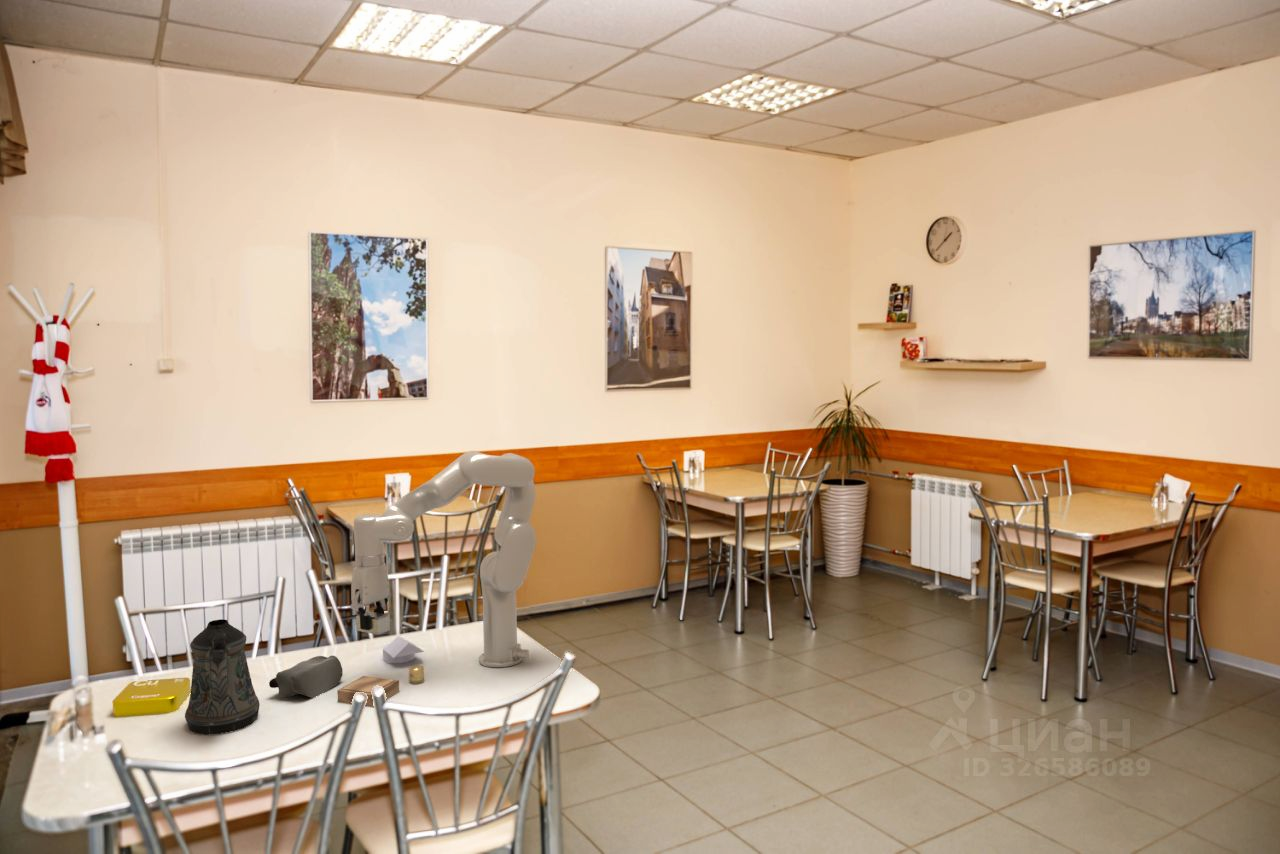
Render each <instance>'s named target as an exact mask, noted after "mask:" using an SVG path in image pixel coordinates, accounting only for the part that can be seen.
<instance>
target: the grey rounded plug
mask: <svg viewBox="0 0 1280 854" xmlns="http://www.w3.org/2000/svg"><path fill="white" fill-rule="evenodd" d="M342 666H343V665H342V663H341V661H340V659H339V658H338V657H337V656H336V655H329V656H328V657H327V656H324V655H317V656H313V657H311V658H309V659H306V660H303V661H299V662H298V663H296V664H295V665H294V666H292V667H290V668H287V669H284V670H282V671H279V672H277V674H275V677H274V678H272V679H270V680H269V682H268V685H269V688H272V689H277V688H278V696H280V697H282V698H288V697H292V696H297V695H303V696H306V697H309V698H312V699H313V697H314V698H317V697H319V696H321V695H323V694H324V693H326V692H327V691H329V690H331V689H332V688H334V687H337V685H339V684H340V682H341V680H342V677H343V667H342ZM322 693H323V694H322ZM320 694H321V695H320ZM316 696H317V697H316Z"/></svg>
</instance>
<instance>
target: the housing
mask: <svg viewBox="0 0 1280 854" xmlns="http://www.w3.org/2000/svg"><path fill="white" fill-rule="evenodd" d="M368 615H370V622H371V629H370V630H363V629H361V628H360V615H358V614H357V615H356V616H355V621H356V622H355V624H356V626H355V627H356V631H358V632H362V633H368V634H373V635H377V636H378V635H381V634H384V633H387V632H388V631H391V621H390V615H388V614H387V613H384V614H382V613H377V612H374V611H370V610H369V614H368Z"/></svg>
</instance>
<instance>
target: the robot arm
mask: <svg viewBox="0 0 1280 854" xmlns="http://www.w3.org/2000/svg"><path fill="white" fill-rule="evenodd" d="M535 473H536V470H535V466H534V464H533V462H531V461H530V459H528V458H526V457H525V456H522V455H519V454H515V453H511V452H508V453H503V454H502V455H492V454H487V453H482V452H479V451H475V450H469V451H466V452H465V453H463V454H461V455H460V456H459V457H457V458H456V459H455V460H454V461H452V462H451V463H450V464H448V465H447V466H446V467H445V468H443V469H442V470H441V471H439V473H437V474H436V475H434V476H432V478H431V479H429V480H428V481H426V482H424V483H422V484H421V485H419V486H418V487H416V488H414V489H412V490H411V491H409V492H407V493H406V494H405V495H403V496H402V497H400V498H399V499H398V500H397V501H395V502H394V503H393V504H392V505H390V506H389V507H388V508H387V509H385V511H384V512H383V513H382V515H379V514H376V513H371V514H370V513H365V514H360V515H357V516H356V517H355V518H354V520H353V535H354V558H355V559H354V560H355V563H354V564H355V567H353V569H352V575H351V585H350V586H351V588H350V590H351V593H350V594H351V596H350V598H351V604H350V609H351V610H353V611H355V613H357V616H358V615H360V628H361V629H363V630H370V629H371V622H370V615H368V614H369V611H370V605H372V604H373V605H374V607H375V608H374V609H373V612H377V613H382V614H385V610H386V608H387V606H386V605H387V603H388V602H389V600H390V598H391V596H392V592H391V590H390V585H389V576H388V575H389V574H388V569H387V564H386V563H385V557H386V553H385V546H384V542H402V541H406V540H408V539H409V538H410V537H411V536H413V533H414V530H415V523H414V521H415V520H417V519H418V518H419V517H421V516H423V515H424V514H425V513H427V512H430V511H432V510H435V509H441V508H443V507H446V506H448V505H450V504H451V503H453V502H454V501H455V500H456V499H457V498H459V497H460V496H461V495H463V493H465V492H466V491H467V490H468V489H470V488H471V487H472V486H474V485H478V486H479V485H480V486H488V487H502V488H504V489H505V495H504V500H503V503H502V504H503V505H502V508H501V510H500V513H499V517H498V519H497V524H496V526H495V530H494V536H493V537H494V539H495V542H496V543H497V544H498V545H499V546H500V548H499V551H498V550H497V551H495V550H494V551H492V552H490V553H488V554H487V555H485V557H484V558H483V559H482V561H481V563H480V567H479V577H480V583H481V591H482V592H481V593H482V594H481V595H482V620H483V621H482V623H483V626H482V627H483V631H482V632H483V653H481V654H480V655H479V657H478V663H479V664H480V665H482V666H484V667H489V668H505V667H512V666H515V665H518V664H519V663H521V662H522V661H523V660H524V659H526V660H527V659H529V657H530V651H529V649H525V648H524V649H523V648H521V645H522V644H521V643H518V623H517V621H518V618H517V615H518V614H517V593H516V591H517V590H519V589H520V588H521V586H522V585H523V584H524V582H525V579H526V577H527V575H528V571H529V567H530V564H531V560H532V558H533V554H534V551H535V548H536V543H537V536H536V531H535V530H534V528H533V526H532V525H531V524H530V521H531V517H532V513H533V509H534V505H535V500H536V487H535V482H534V478H535Z"/></svg>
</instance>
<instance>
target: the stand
mask: <svg viewBox="0 0 1280 854" xmlns="http://www.w3.org/2000/svg"><path fill="white" fill-rule="evenodd" d="M376 685H379V686H382V687H383V688H384V690H385V693H386V697H387V699H386V700H388V699H389V698H391V697H392V696H394V695H396V694H398V692H400V680H399V679H391V678H382V677H378V676H377V677H376V676H368V675H362V676H361V677H359V678H357V679H355V680H354V681H351V682H350V683H348V684H346V685H345V686H342V687H341V688H339V689H337V702H338V703H344V704H351V702H352V699H353V696H354V694H355V693H356V692H364V693H366V694H367V696H368V699H367V703H366V707H372V708H373V707H374V706H373V699H372V694H371V690H372V688H373V687H374V686H376ZM374 708H375V707H374Z"/></svg>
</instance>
